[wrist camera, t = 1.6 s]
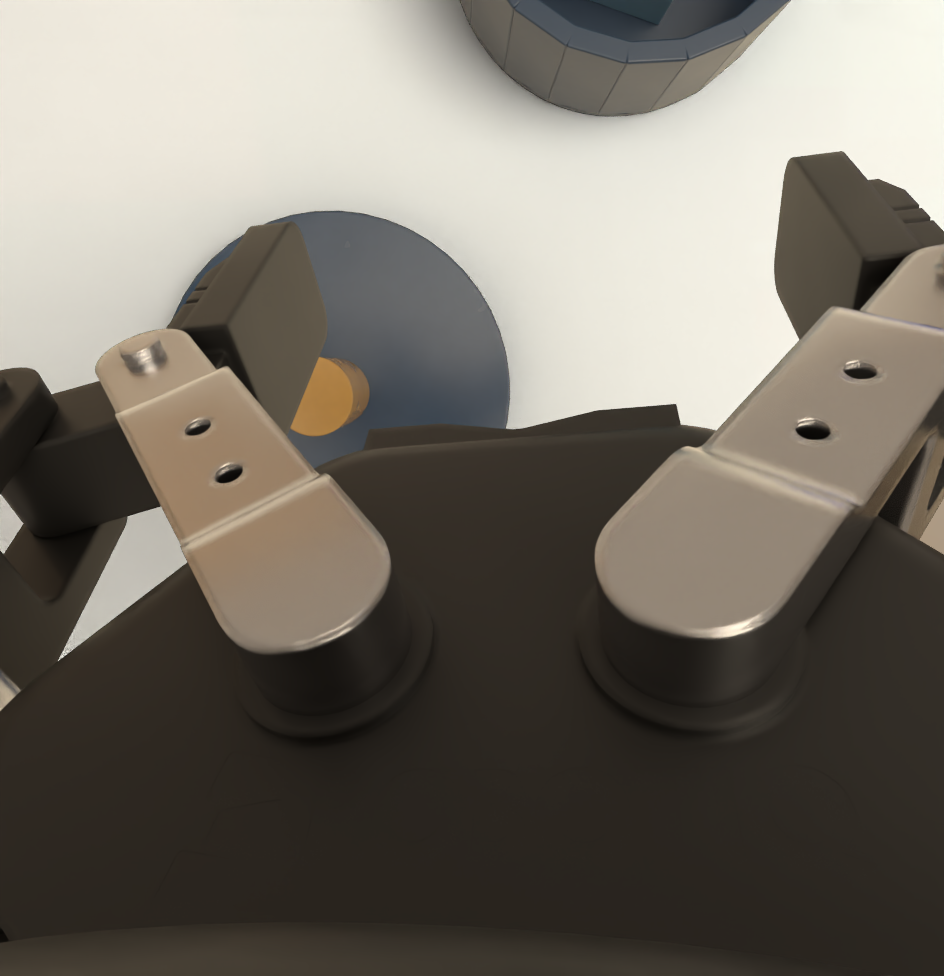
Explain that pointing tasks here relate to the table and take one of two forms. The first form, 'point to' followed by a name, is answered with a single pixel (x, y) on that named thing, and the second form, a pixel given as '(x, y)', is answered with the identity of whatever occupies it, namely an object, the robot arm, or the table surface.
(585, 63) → the tin
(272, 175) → the table surface
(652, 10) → the light teal block
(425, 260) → the tin lid
